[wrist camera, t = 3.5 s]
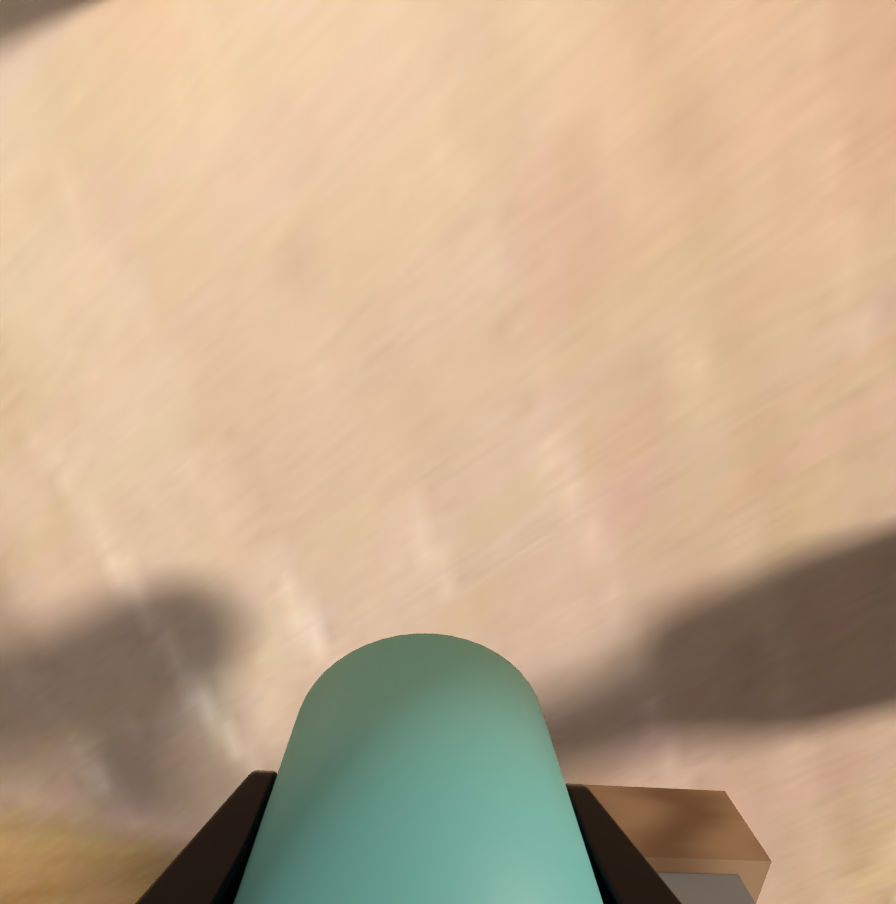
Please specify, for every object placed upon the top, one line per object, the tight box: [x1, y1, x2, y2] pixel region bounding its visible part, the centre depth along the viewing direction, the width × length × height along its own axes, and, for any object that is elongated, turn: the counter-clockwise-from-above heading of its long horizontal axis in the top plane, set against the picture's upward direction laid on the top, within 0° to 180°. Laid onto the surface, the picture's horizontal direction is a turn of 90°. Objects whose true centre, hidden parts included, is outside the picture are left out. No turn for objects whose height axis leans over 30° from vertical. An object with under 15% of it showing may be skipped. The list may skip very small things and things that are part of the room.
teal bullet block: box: [233, 634, 603, 904], centre depth 7 cm, size 5×5×4 cm
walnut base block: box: [585, 785, 771, 903], centre depth 22 cm, size 8×8×4 cm
